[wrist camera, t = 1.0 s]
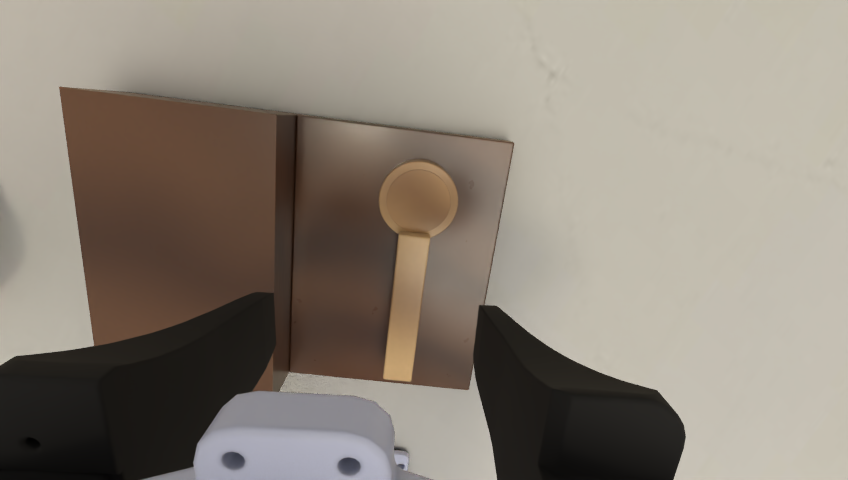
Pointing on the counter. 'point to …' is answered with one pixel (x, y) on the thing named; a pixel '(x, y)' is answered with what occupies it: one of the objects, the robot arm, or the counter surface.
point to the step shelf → (275, 228)
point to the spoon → (412, 249)
